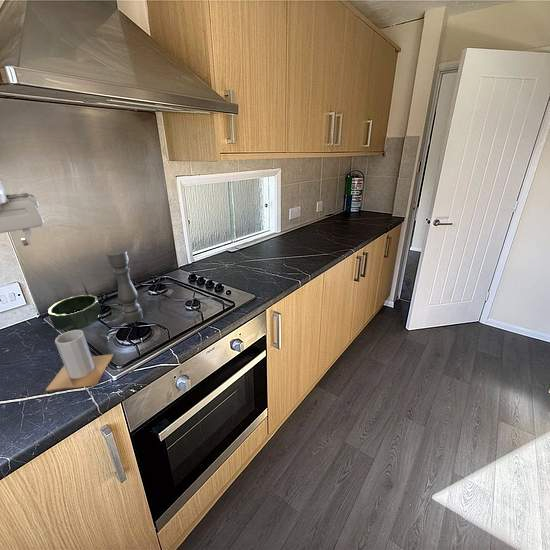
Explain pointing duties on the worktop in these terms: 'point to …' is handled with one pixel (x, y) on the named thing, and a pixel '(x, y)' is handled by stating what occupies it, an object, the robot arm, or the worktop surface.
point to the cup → (75, 353)
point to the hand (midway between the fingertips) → (5, 249)
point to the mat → (89, 380)
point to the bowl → (77, 318)
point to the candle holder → (125, 286)
